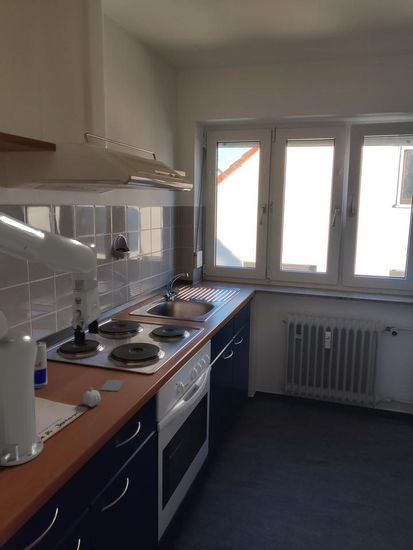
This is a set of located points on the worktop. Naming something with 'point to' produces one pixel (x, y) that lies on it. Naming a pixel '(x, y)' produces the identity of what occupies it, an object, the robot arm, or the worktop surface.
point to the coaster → (112, 385)
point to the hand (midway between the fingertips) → (87, 338)
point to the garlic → (91, 398)
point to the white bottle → (40, 366)
